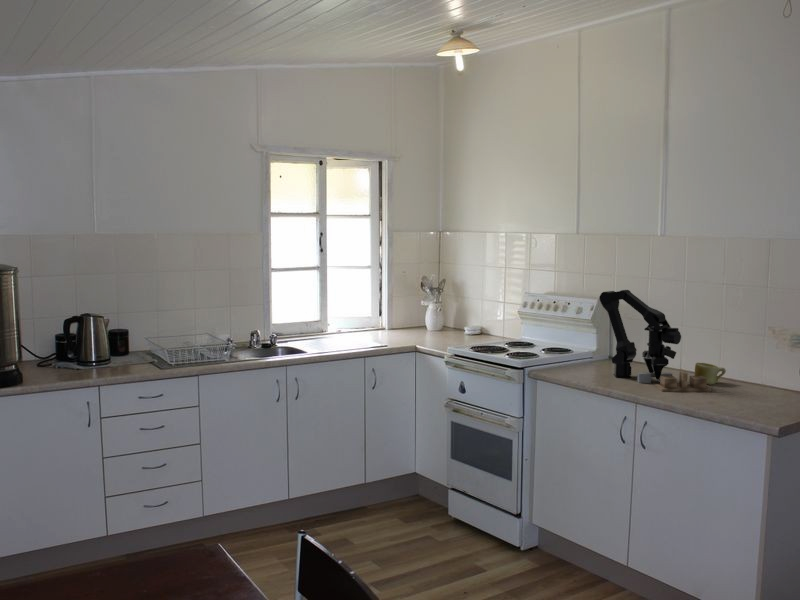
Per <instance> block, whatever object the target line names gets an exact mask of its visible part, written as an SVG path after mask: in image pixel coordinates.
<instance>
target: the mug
mask: <svg viewBox="0 0 800 600" xmlns="http://www.w3.org/2000/svg"><path fill="white" fill-rule="evenodd" d="M720 372H721V373H720ZM726 372H727V370H726V368H724V367H719V366H718V365H716V364H712V363H709V362H708V363H707V362H696V363H695V366H694V376H703V377H705V378H706V379H707V386H708V385H709V386H710V385H715V384H717V383H718V381H719V380H720V378H722V377H723V376H724V375H725V374H726ZM719 373H720V374H719ZM718 374H719V375H718Z"/></svg>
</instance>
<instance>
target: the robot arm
mask: <svg viewBox="0 0 800 600" xmlns="http://www.w3.org/2000/svg"><path fill="white" fill-rule="evenodd" d="M598 300H599V302H600V304H601V306H602V307H603V309H604V310H606V312H607V314H608V317H609V321H610V324H611V327H612V331H613V334H614V337H615V340H616V347H615V353H616V354H615V355H614V356H612V358H611V362H612V364H614V369H613V371H614V373H613V376H614V377H615V378H632V366H631V363H633V362H634V359H635V358H636V356H637V351H638V349H637V348H636V345H635V342H634V341H630V340H629V337H628V336H627V332H626V329H625V326H624V322H623V320H622V316H621V313H620V311H619V310H620V309H619V307H620V300H622V301H623V302H625V303H627V304H628V305H629V306H630V307H631V308H633V309H634V310H636V312H638V313H639V314H640V315H641V316H642V318H643V319H644V321H645V322H646V324H647V326H646V327H644V331H648V342H647V343H646V345H647V347H648V349H647V350H644V351H642V355H641V357H642V358H643V360H644V363H645V366H646V367H647V370H648V373H654V374H655V377H654V378H655V379H656V380H658V379H659V378H660V375H661V373H663V372H662V371H663V369H664V368H665V367H667V366H668V365H669V359H668V357H669V358H670V359H672V360H674V359H675V357H676V355H677V351H675V350H673V349H672V348H671V346H669V345H665V344H672V345H679V344H680V342H681V341H682V340H681V339H682V334H681V332H680V330H679V327H671V325H670V323H669V322H668V320H667V319H666V315H665V313H663V312H662V311H661V310H660V311H659V310H658V309H656V308H652V307H651V306H649V305H648V304H646V303H645V302H644V301H643V300H641V299H640V298H639V297H638V296H636V295H635V294H634V293H632V292H631V290H630V289H621V290H619V291H615V290H608V291H602V292H601V293H600V295H599V299H598ZM663 343H665V344H663Z"/></svg>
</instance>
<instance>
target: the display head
mask: <svg viewBox="0 0 800 600" xmlns="http://www.w3.org/2000/svg"><path fill="white" fill-rule="evenodd" d="M688 375H689V374H688V372H686V371H679V377H678V379H679V380H678V379H677V377H675V376H674V375H672V376H660V383H655V388H656V389H658V390H660V391H661V392H681V393H683V392H685V393H686V392H690V393H691V392H692V393H693V392H696V393H697V392H698V393H699V392H700V393H701V392H707V393H708V392H709V393H711V392H712V388H710V387H709V386H708V384H707V379H706V378H705V377H703V376H695V375H689V377H688ZM688 378H689V383H688ZM678 381H679V383H678Z"/></svg>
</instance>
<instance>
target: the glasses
mask: <svg viewBox="0 0 800 600" xmlns="http://www.w3.org/2000/svg"><path fill="white" fill-rule="evenodd" d="M636 373H637V380H636V382H637V383H639V384H652V378H656V377H655V374H654V372H653V373H649V372H636ZM660 376H673V373H672V372H661V375H660ZM657 381H658V383H659V382H660V378H659V379H657Z"/></svg>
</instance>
